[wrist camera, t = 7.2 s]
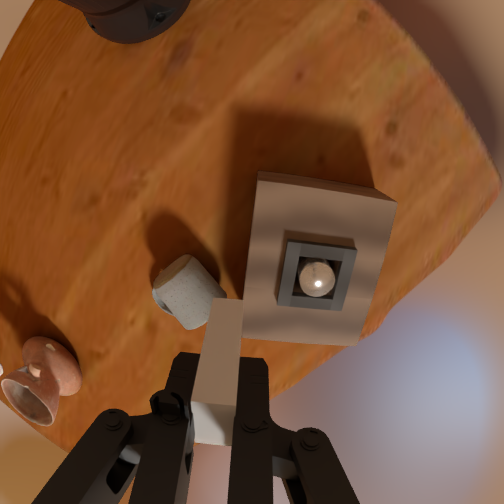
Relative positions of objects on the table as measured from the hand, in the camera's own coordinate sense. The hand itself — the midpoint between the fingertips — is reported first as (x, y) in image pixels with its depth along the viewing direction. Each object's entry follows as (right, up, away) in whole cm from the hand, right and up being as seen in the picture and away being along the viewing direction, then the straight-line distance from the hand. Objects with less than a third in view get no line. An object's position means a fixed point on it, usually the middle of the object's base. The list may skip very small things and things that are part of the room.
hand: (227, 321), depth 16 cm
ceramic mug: (-8, -1, +31) cm, 33 cm away
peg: (+9, +3, +28) cm, 29 cm away
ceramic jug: (-39, -19, +39) cm, 58 cm away
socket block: (+9, +4, +29) cm, 30 cm away
